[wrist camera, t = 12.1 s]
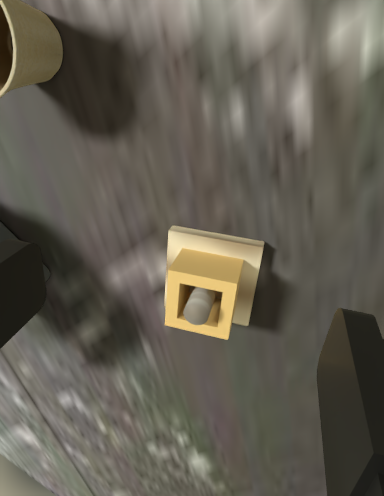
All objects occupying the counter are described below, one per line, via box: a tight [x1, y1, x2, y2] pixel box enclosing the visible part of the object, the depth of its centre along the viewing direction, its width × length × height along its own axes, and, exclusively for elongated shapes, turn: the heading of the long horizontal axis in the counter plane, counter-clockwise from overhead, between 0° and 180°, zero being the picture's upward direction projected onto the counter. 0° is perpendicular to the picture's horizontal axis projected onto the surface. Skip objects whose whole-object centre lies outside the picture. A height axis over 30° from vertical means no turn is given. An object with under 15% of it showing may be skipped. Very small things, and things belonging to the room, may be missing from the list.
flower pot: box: [0, 0, 63, 98], centre depth 30 cm, size 9×9×9 cm
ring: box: [165, 248, 244, 340], centre depth 36 cm, size 7×7×5 cm
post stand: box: [164, 225, 264, 326], centre depth 36 cm, size 10×10×8 cm
